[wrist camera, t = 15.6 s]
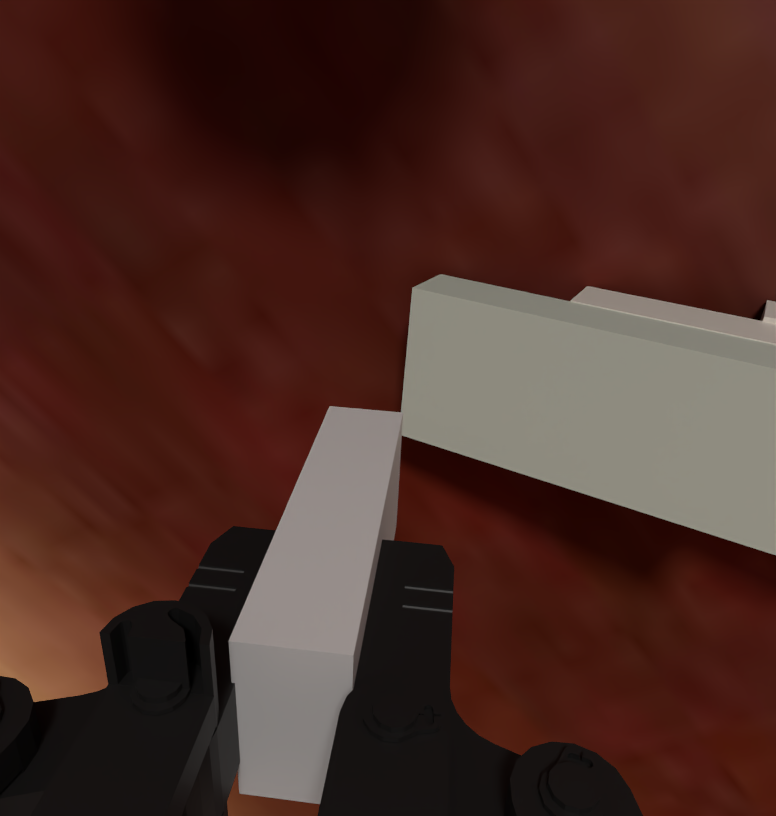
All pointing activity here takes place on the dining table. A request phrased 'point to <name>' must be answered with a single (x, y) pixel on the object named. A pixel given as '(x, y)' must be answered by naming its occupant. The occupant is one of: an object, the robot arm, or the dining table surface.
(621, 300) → the tile
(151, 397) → the dining table surface
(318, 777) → the robot arm
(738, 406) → the end tile
